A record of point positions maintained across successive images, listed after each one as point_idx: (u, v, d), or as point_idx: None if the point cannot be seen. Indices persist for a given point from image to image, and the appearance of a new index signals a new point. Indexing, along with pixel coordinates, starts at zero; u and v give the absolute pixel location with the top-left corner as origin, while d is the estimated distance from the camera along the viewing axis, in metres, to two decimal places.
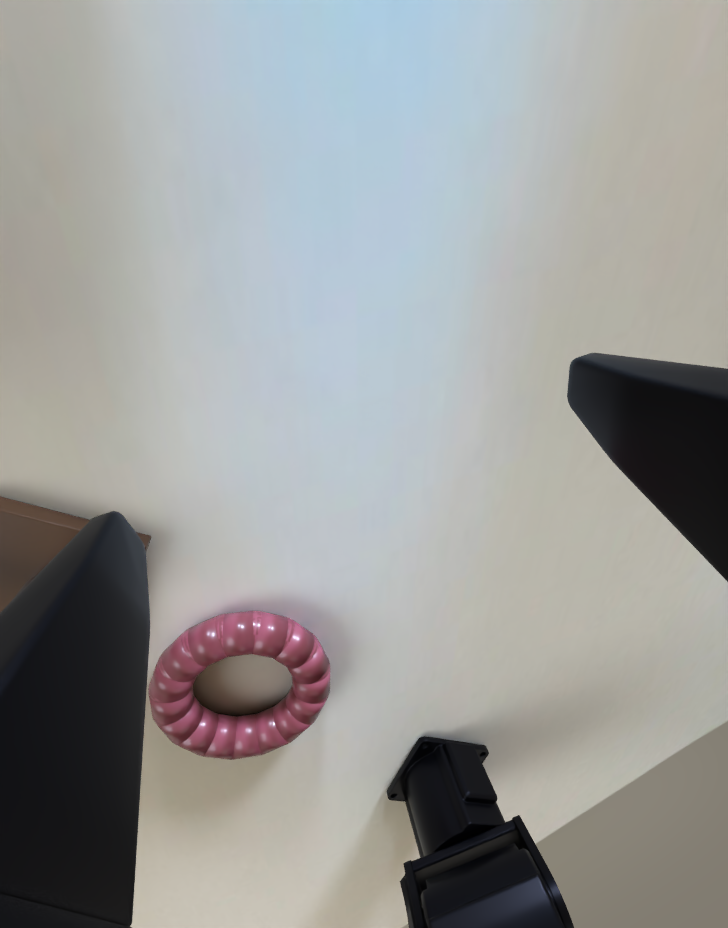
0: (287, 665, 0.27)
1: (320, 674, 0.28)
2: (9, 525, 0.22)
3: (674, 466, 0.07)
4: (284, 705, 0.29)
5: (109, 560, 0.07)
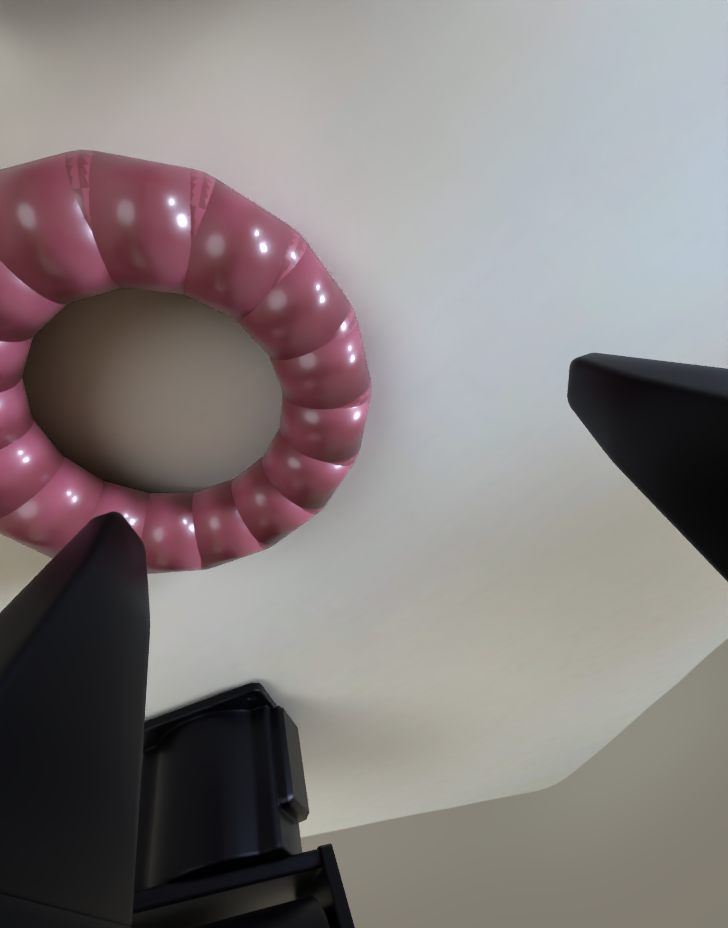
0: (304, 441, 0.12)
1: (319, 502, 0.13)
2: None
3: (674, 466, 0.07)
4: (182, 504, 0.13)
5: (109, 560, 0.07)
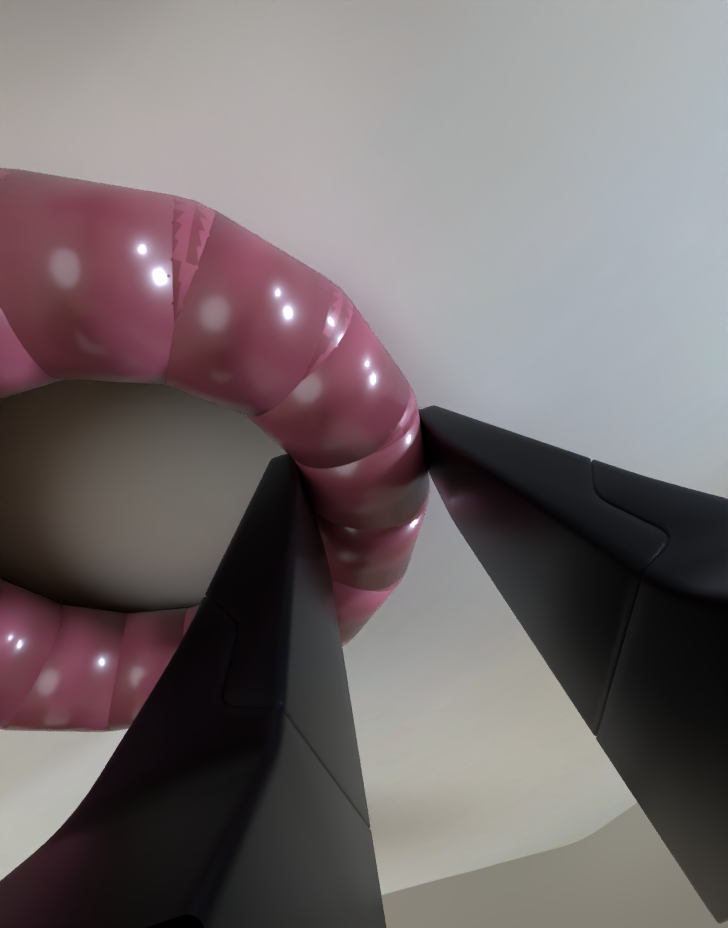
0: (339, 565, 0.09)
1: (354, 631, 0.10)
2: None
3: (486, 533, 0.07)
4: (170, 634, 0.10)
5: (303, 494, 0.07)
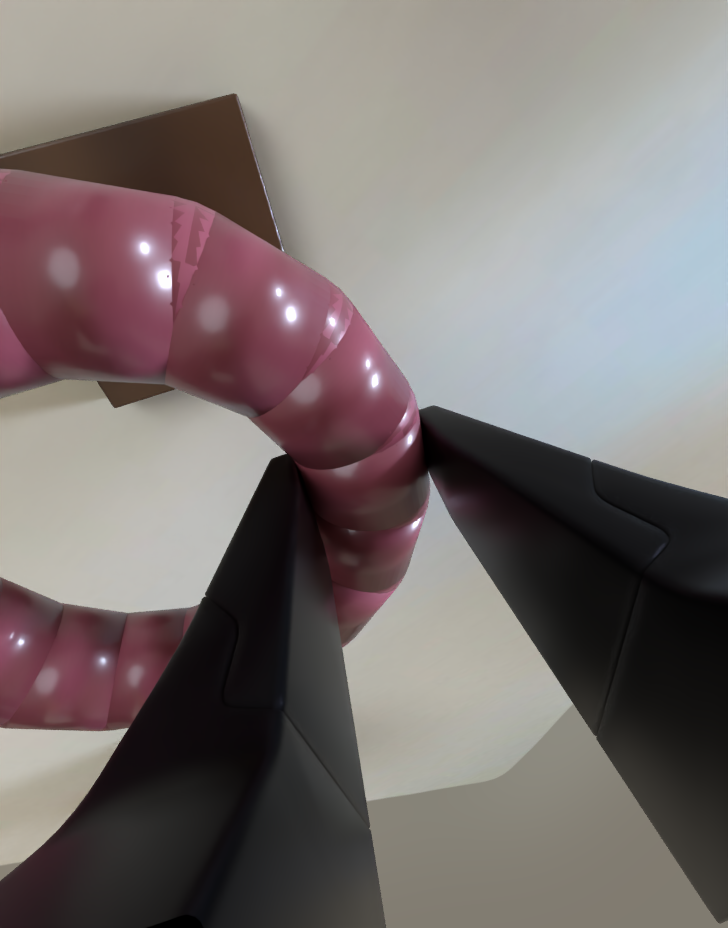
0: (338, 567, 0.09)
1: None
2: (238, 172, 0.14)
3: (486, 533, 0.07)
4: (170, 634, 0.10)
5: (303, 494, 0.07)
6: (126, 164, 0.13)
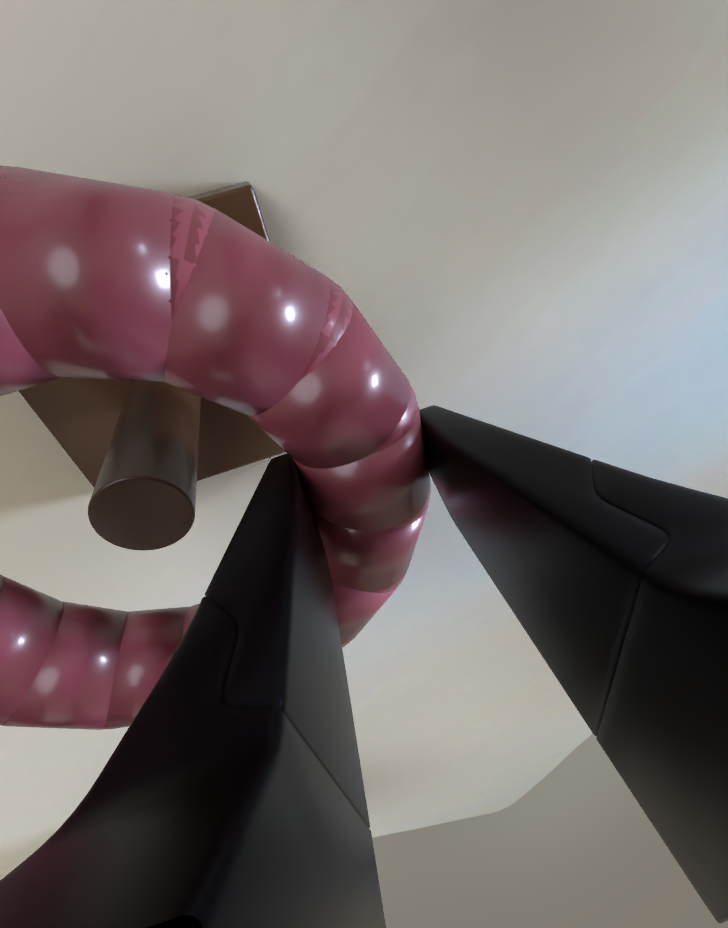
0: (338, 566, 0.09)
1: (354, 632, 0.10)
2: None
3: (486, 533, 0.07)
4: (170, 633, 0.10)
5: (303, 494, 0.07)
6: None
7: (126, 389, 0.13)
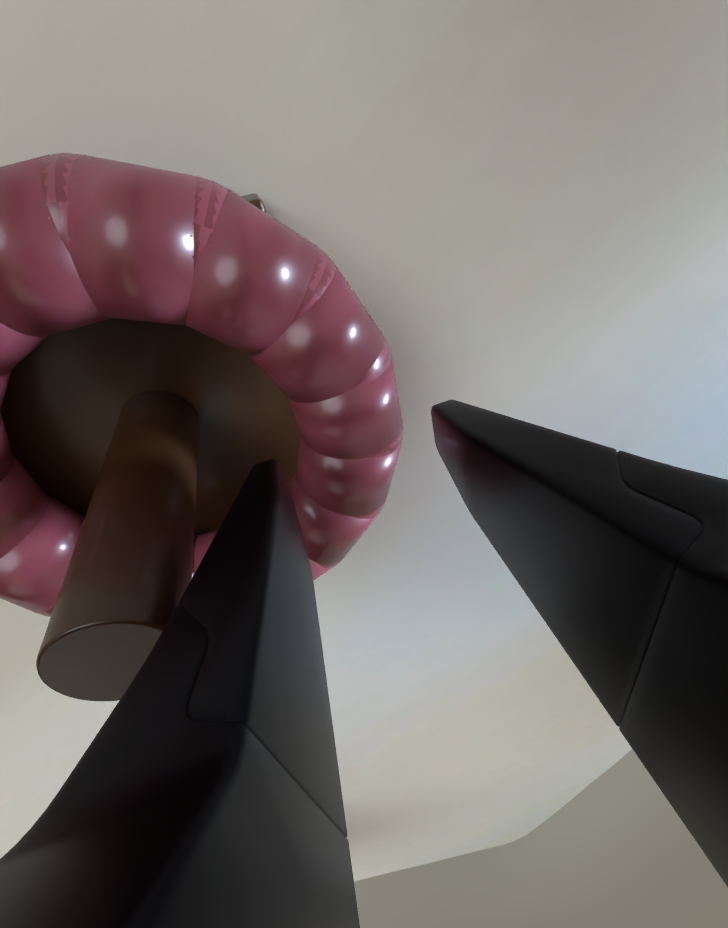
0: (324, 492, 0.10)
1: (338, 556, 0.12)
2: None
3: (507, 526, 0.07)
4: None
5: (284, 501, 0.07)
6: None
7: (107, 443, 0.11)
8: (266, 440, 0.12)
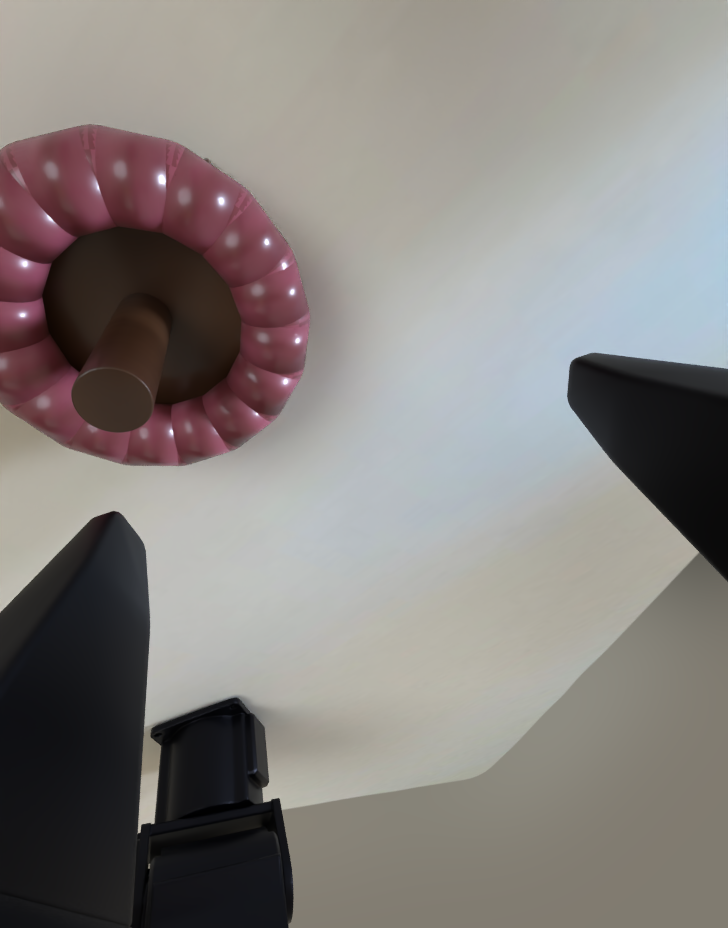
0: (257, 355, 0.16)
1: (272, 410, 0.17)
2: None
3: (674, 466, 0.07)
4: (163, 410, 0.17)
5: (109, 560, 0.07)
6: None
7: None
8: (220, 337, 0.17)
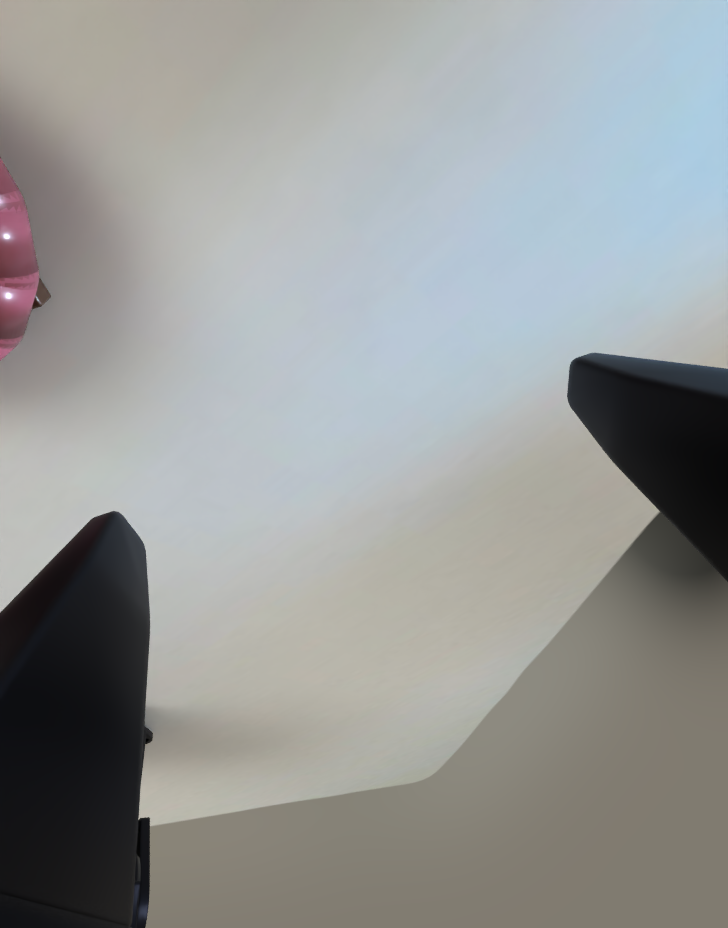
0: None
1: None
2: None
3: (674, 466, 0.07)
4: None
5: (109, 560, 0.07)
6: None
7: None
8: None
